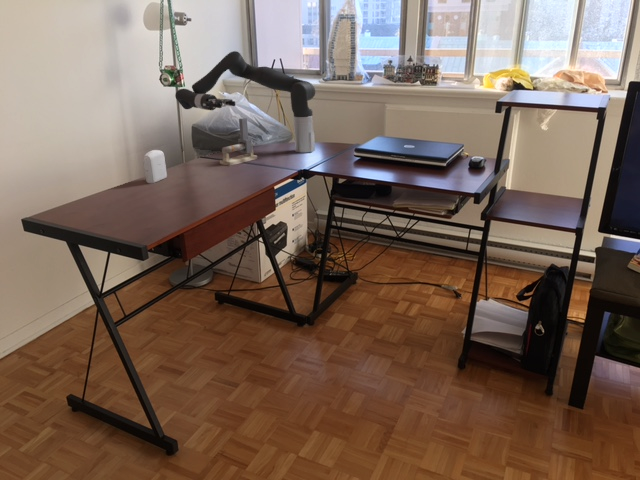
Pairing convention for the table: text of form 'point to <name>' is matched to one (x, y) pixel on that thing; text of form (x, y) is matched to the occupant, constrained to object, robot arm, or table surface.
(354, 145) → the table surface
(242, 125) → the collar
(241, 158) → the pipe stand
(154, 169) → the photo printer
